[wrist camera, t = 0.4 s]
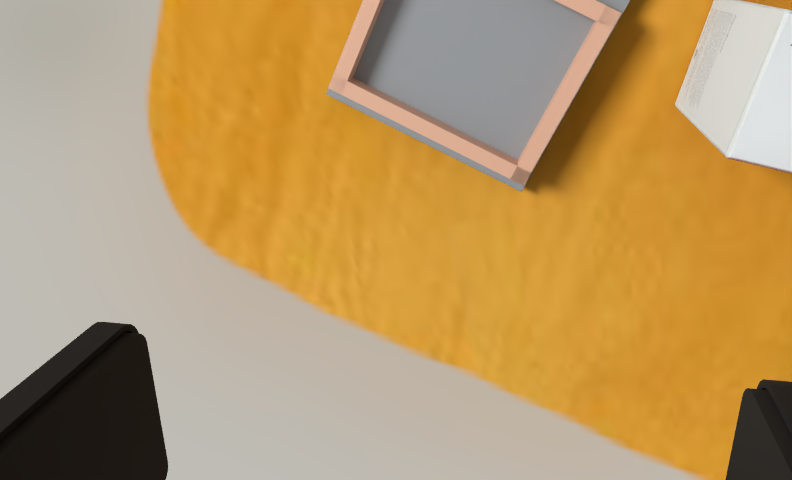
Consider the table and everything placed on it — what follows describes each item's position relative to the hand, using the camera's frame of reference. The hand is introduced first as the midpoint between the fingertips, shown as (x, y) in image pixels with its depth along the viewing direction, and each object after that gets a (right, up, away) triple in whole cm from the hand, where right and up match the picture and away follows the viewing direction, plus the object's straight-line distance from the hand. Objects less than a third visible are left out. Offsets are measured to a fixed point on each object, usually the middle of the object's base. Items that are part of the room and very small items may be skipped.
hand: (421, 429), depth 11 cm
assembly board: (+5, +16, +24) cm, 29 cm away
